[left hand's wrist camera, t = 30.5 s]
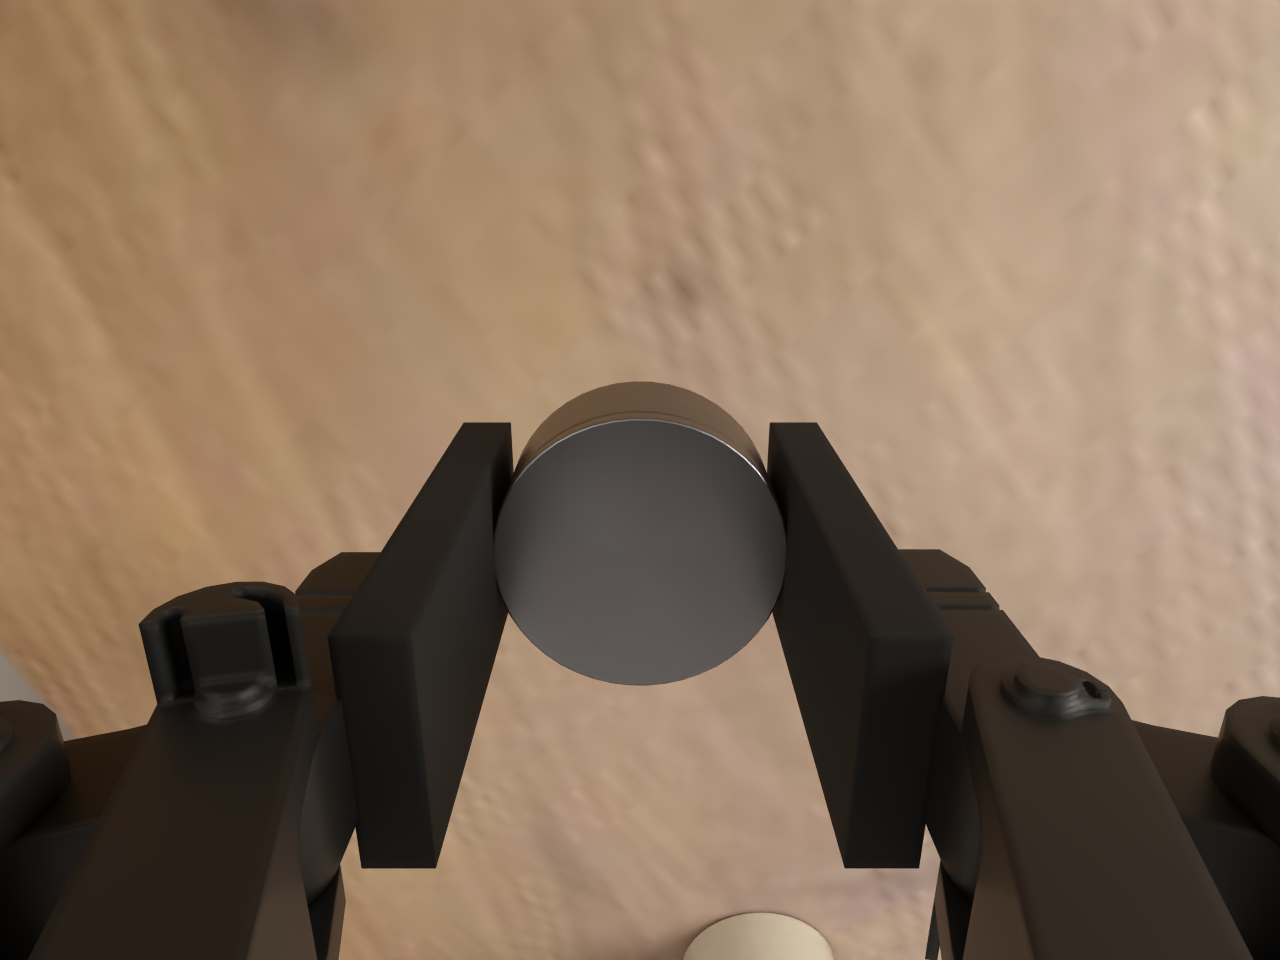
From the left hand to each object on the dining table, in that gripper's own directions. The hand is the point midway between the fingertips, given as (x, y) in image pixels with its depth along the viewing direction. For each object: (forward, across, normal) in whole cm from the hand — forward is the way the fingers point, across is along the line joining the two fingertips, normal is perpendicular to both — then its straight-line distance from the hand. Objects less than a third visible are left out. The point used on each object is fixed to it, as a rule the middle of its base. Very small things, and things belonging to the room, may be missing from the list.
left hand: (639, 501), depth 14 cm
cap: (-2, 0, 0) cm, 2 cm away
